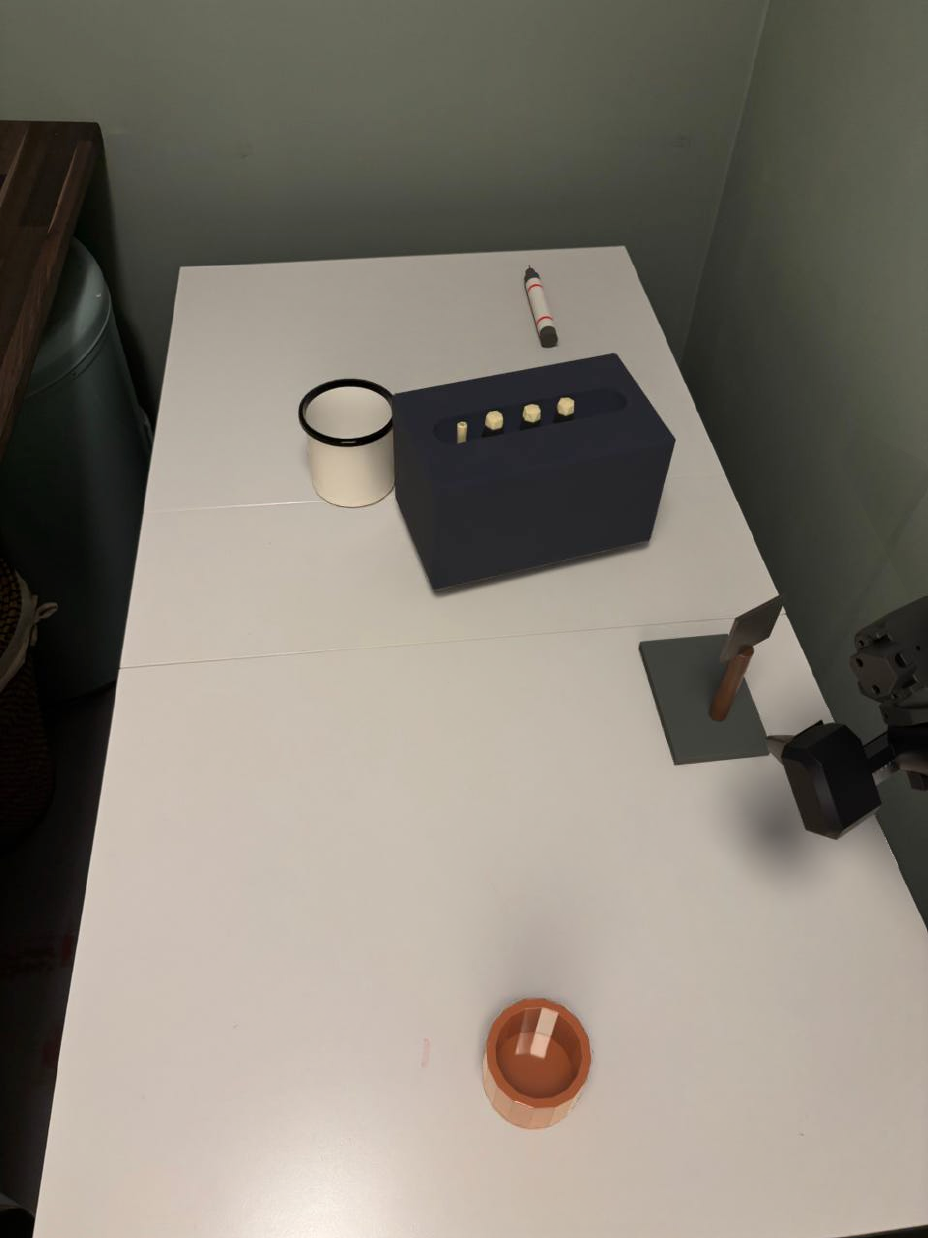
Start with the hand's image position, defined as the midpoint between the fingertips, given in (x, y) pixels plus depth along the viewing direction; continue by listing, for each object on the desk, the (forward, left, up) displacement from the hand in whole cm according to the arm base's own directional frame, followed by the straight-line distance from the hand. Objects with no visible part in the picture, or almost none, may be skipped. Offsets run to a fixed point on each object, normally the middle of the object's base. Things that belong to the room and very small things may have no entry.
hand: (815, 714), depth 71 cm
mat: (+9, -3, -11) cm, 14 cm away
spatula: (+7, -2, -10) cm, 12 cm away
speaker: (+33, -8, -11) cm, 36 cm away
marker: (+55, -39, -11) cm, 68 cm away
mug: (+49, -3, -11) cm, 50 cm away
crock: (+1, +30, -11) cm, 32 cm away
